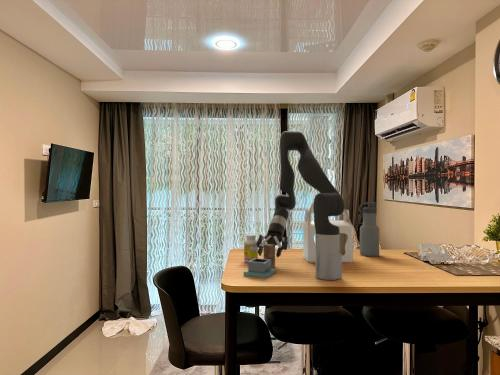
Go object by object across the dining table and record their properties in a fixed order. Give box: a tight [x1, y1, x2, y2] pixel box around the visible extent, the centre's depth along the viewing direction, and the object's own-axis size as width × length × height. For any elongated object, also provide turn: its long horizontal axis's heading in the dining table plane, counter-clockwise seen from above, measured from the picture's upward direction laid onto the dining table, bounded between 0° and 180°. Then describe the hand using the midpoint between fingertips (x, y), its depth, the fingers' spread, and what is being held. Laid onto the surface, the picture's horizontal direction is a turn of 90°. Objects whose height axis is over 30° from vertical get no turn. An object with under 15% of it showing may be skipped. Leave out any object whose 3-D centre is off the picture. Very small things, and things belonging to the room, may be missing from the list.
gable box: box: [302, 202, 354, 263], centre depth 166 cm, size 22×13×28 cm, turn 91°
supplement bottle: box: [243, 233, 259, 263], centre depth 161 cm, size 7×7×13 cm
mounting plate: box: [243, 268, 276, 279], centre depth 137 cm, size 10×10×2 cm
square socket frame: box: [247, 257, 272, 273], centre depth 137 cm, size 7×7×4 cm
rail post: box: [263, 244, 276, 269], centre depth 150 cm, size 4×4×10 cm
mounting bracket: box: [418, 243, 455, 263], centre depth 159 cm, size 12×6×11 cm, turn 86°
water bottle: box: [357, 201, 380, 257], centre depth 178 cm, size 10×10×28 cm
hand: (268, 255), depth 149 cm, fingers open, 8 cm apart
